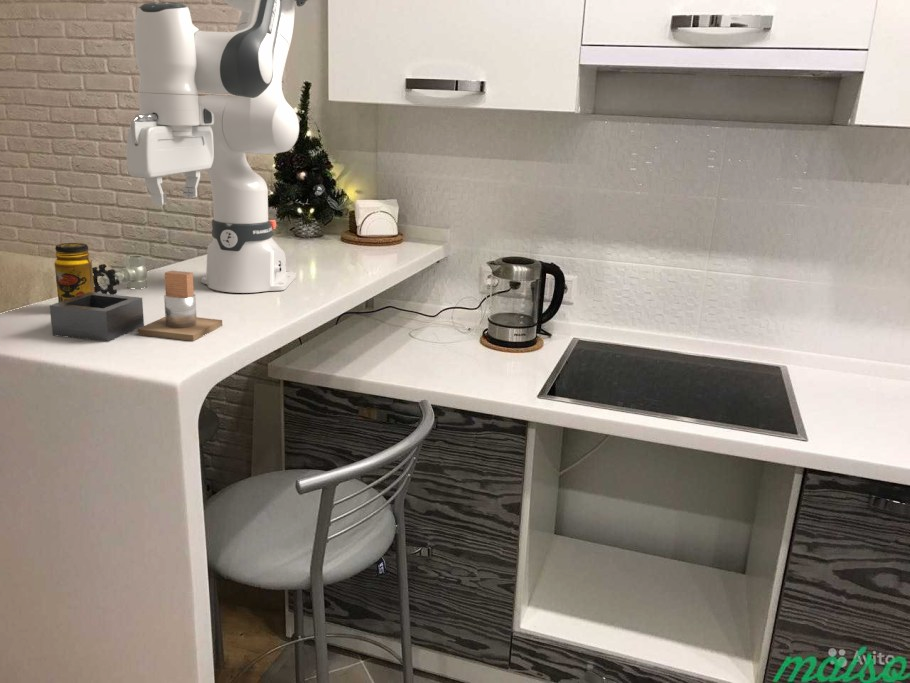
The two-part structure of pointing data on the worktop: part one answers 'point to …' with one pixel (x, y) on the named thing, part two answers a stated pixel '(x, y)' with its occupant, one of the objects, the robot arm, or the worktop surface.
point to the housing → (97, 316)
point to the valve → (122, 275)
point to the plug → (179, 300)
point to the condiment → (73, 270)
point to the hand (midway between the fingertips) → (175, 201)
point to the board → (180, 329)
